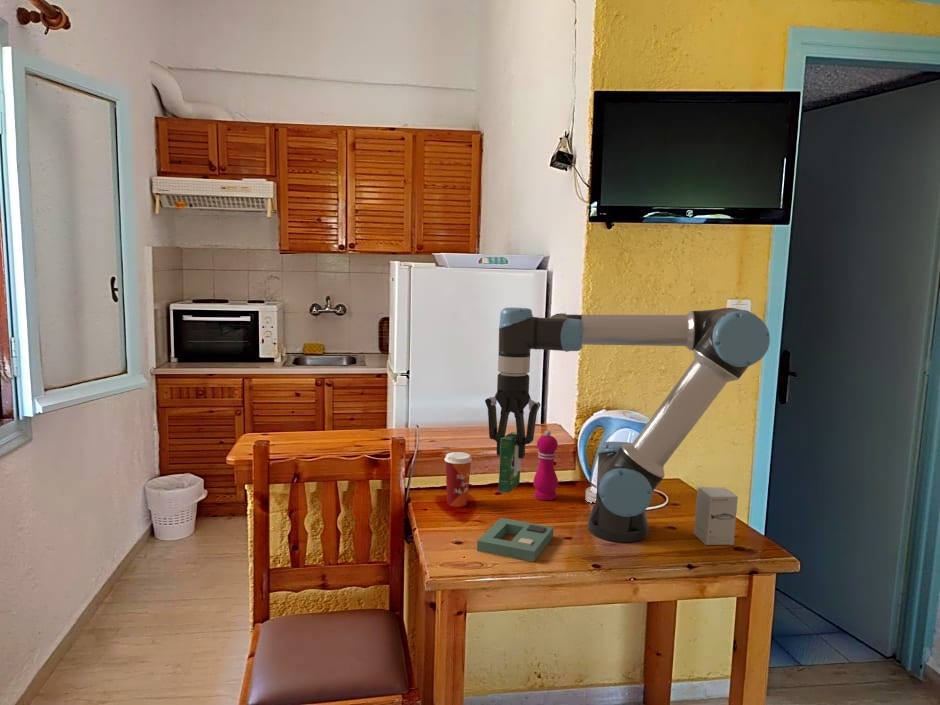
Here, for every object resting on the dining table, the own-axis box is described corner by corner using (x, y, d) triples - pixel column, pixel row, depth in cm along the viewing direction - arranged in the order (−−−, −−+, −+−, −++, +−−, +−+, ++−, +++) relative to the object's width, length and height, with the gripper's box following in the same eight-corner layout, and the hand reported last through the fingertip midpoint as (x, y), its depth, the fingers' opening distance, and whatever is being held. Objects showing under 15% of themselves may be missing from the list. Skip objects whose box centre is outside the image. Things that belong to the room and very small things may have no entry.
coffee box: (509, 482, 165) (511, 430, 164) (520, 484, 164) (522, 432, 163) (497, 491, 158) (499, 437, 156) (508, 493, 157) (511, 439, 155)
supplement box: (705, 546, 163) (709, 496, 162) (693, 534, 171) (696, 486, 169) (734, 545, 164) (738, 496, 162) (721, 533, 171) (724, 486, 170)
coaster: (618, 510, 187) (618, 498, 186) (582, 505, 190) (582, 493, 189) (621, 499, 196) (622, 487, 196) (587, 494, 199) (588, 483, 199)
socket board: (553, 536, 167) (553, 525, 166) (533, 562, 152) (534, 549, 152) (500, 527, 172) (500, 516, 172) (477, 550, 157) (477, 538, 157)
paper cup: (461, 510, 183) (462, 460, 182) (438, 504, 187) (439, 456, 186) (476, 502, 190) (477, 454, 188) (453, 496, 194) (454, 449, 192)
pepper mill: (539, 502, 191) (542, 434, 188) (528, 494, 197) (530, 428, 195) (562, 500, 193) (565, 432, 191) (550, 492, 200) (552, 426, 197)
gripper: (550, 374, 158) (546, 470, 161) (487, 368, 164) (484, 461, 167) (541, 378, 151) (537, 479, 154) (476, 372, 157) (473, 469, 160)
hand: (510, 469), depth 161 cm, fingers closed on coffee box, 3 cm apart
